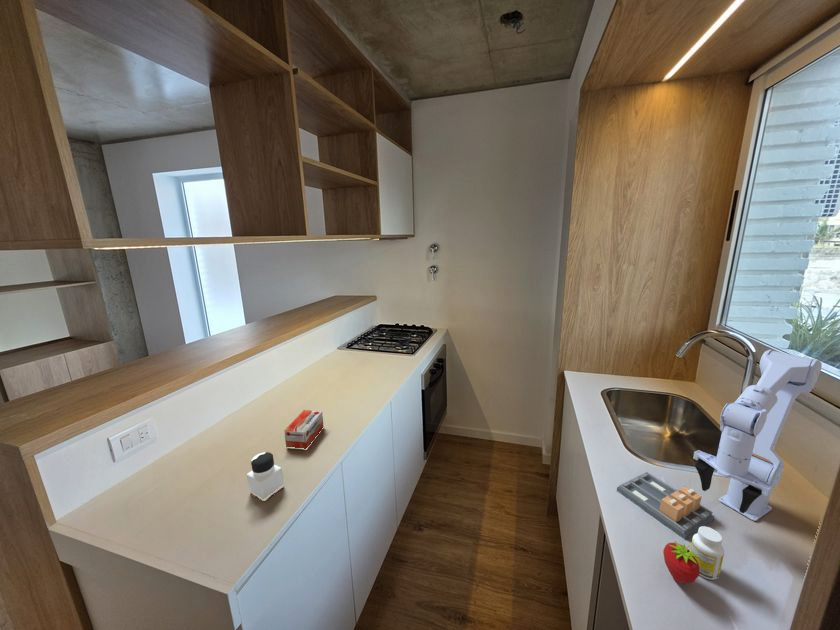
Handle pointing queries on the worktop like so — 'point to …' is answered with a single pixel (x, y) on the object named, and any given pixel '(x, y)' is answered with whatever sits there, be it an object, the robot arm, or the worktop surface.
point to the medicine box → (304, 429)
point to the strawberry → (681, 563)
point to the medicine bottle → (264, 475)
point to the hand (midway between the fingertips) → (723, 499)
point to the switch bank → (648, 497)
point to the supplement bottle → (708, 552)
